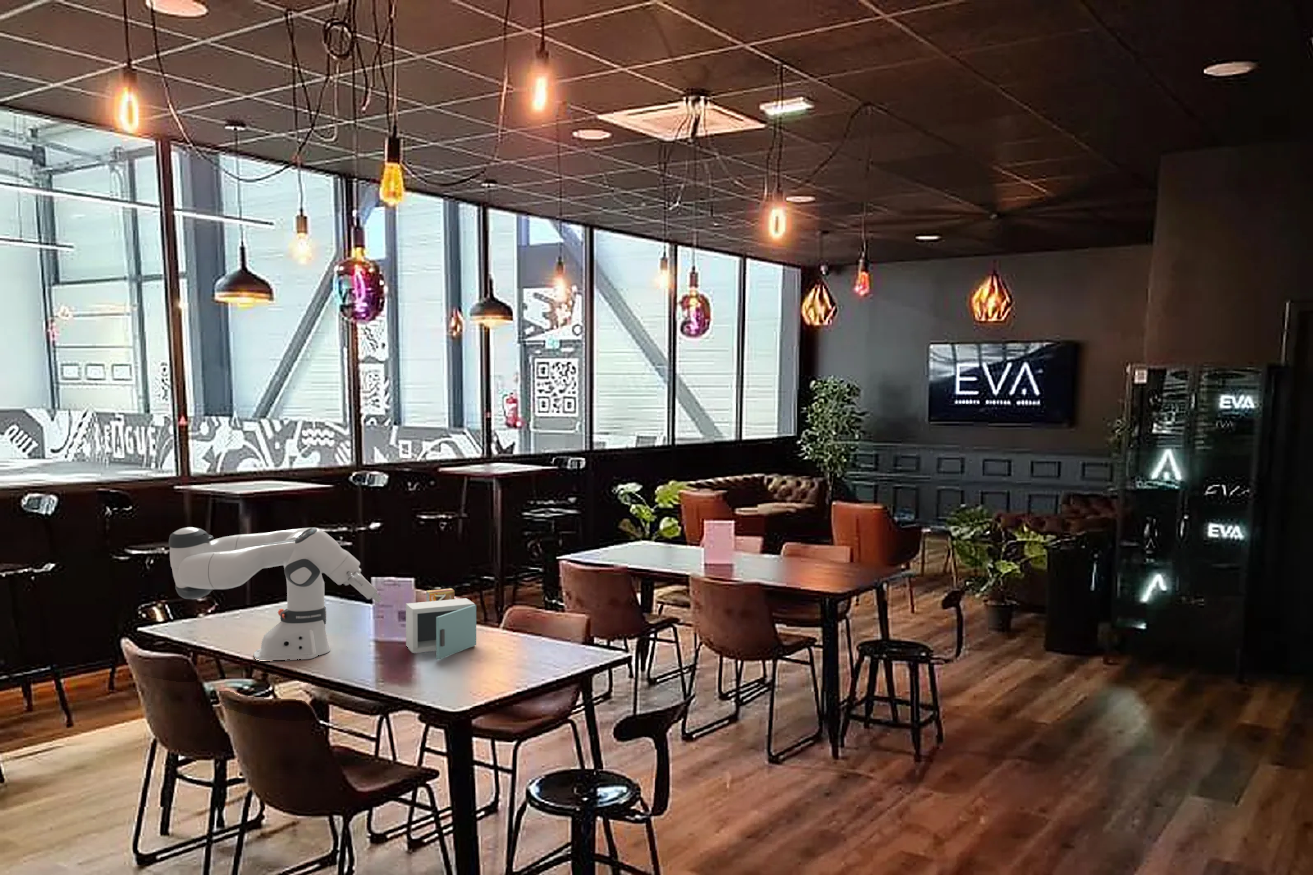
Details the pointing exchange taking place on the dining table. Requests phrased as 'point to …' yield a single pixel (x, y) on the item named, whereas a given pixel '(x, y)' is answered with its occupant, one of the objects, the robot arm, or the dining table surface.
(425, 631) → the case
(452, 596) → the candy box
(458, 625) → the door
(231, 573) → the robot arm
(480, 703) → the dining table surface
